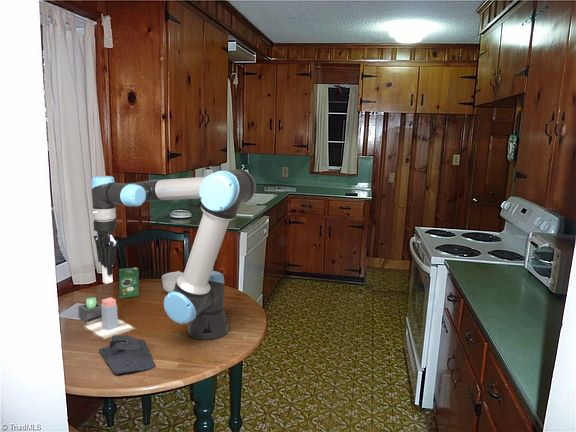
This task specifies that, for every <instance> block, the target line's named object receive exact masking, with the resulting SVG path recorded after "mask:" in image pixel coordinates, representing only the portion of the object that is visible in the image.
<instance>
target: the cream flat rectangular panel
mask: <svg viewBox="0 0 576 432" xmlns="http://www.w3.org/2000/svg"><path fill="white" fill-rule="evenodd" d="M80 327H81V328H82V329H84V330H85V331H87V332H88V333H90V334H92V335H93V336H94V337H97V338H99V339H100V340H101V341H102V342H105V341H107V340H110V339H111V340H112V336H113V335H120V336H121V335H122V336H123V335H124V334H127V333H130V332H132V331H136V330H137V329H138V328H137V327H135V326H134V325H132V324H130V323H128V322H127V321H124V320H123V319H121V318H119V317H118V328H115V329H112V330H109V331H107V330H106V329H104V328H102V318H99V319H95V320H92V321H89V322H85V323H83V324H82V325H80Z"/></svg>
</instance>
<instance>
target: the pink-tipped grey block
mask: <svg viewBox="0 0 576 432" xmlns="http://www.w3.org/2000/svg"><path fill="white" fill-rule="evenodd" d="M101 304H102V305H101V311H102V328H104V329H106V330H107V331H109V330H112V329H115V328H118V318H119V317H118V304H117V299H115V298H114V297H111V296H110V297H107V298H104V299H101Z"/></svg>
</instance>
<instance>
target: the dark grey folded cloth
mask: <svg viewBox="0 0 576 432" xmlns="http://www.w3.org/2000/svg"><path fill="white" fill-rule="evenodd" d="M98 351H99V353H100V354H101V356H102V358H103V360H104V361H105V362H106V364H107V365H108V366H109V367H110V369H111V371H112V372H113V373H114V374H116V375H121V374H127V373H129V374H130V373H133V372H143V371H150V370H153V369H154V368H156V367H157V365H156V363H155V362H154V358H153V355H152V353H151V351H150V348H149V347H148V344H147V342H146V340H144V339H141V338H140V339H138V338H136V337H135V338H134V337H133V336H130V335H127V334H126V335H124V334H122V335H113V336H112V338H111V340H110V341H109V345H108V346H105V347H101V348H99V350H98Z"/></svg>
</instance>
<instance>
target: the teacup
mask: <svg viewBox="0 0 576 432" xmlns="http://www.w3.org/2000/svg"><path fill="white" fill-rule="evenodd" d="M183 274H184V271H183V272H182V271H180V270H177V271H172V272H167V273H164V274H163V275H162V276H161V283H162V288H163V290H164V291H165V292H167V293H170V292H172V291H173V290H174V287H175V283H176V280H177V278H178V277H179V276H181V275H183Z"/></svg>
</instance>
